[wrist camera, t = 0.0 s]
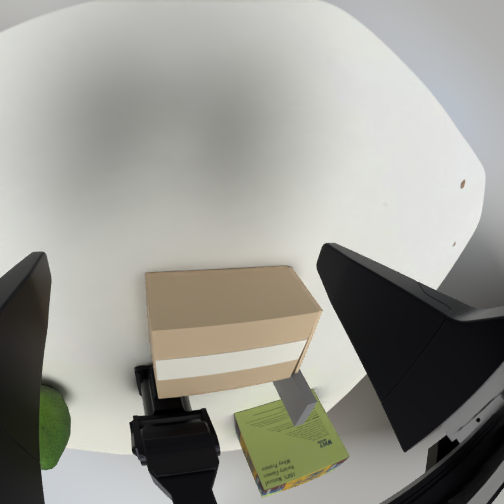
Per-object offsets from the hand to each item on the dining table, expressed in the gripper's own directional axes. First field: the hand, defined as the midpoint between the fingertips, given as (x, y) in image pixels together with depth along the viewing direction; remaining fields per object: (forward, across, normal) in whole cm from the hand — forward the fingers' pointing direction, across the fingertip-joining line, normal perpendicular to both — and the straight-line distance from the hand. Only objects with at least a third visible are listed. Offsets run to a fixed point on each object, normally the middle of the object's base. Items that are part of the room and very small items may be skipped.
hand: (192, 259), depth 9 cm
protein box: (+15, -20, +46) cm, 53 cm away
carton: (+15, -6, +16) cm, 23 cm away
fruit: (+15, +17, +30) cm, 38 cm away
